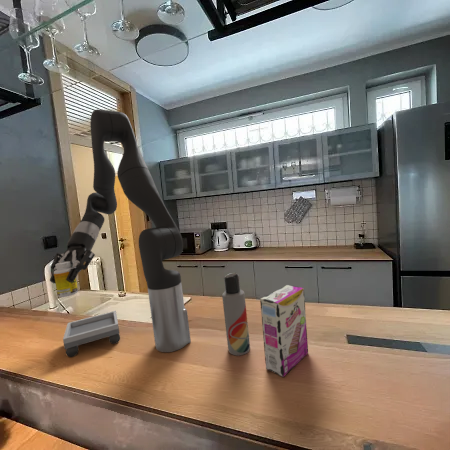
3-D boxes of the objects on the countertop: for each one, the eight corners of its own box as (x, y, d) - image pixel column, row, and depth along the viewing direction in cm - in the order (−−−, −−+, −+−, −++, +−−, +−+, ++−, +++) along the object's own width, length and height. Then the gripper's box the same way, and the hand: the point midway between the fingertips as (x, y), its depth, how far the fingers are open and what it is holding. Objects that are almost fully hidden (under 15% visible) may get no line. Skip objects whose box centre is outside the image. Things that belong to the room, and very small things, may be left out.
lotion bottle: (249, 356, 63) (240, 276, 62) (226, 355, 65) (217, 277, 63) (251, 343, 69) (243, 270, 67) (230, 343, 70) (222, 271, 68)
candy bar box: (284, 379, 54) (277, 303, 53) (265, 369, 58) (258, 298, 56) (310, 353, 62) (304, 286, 61) (291, 346, 66) (286, 283, 64)
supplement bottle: (75, 295, 79) (69, 262, 78) (54, 299, 78) (48, 266, 77) (80, 290, 84) (75, 259, 84) (62, 293, 83) (56, 262, 83)
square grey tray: (118, 327, 88) (115, 310, 87) (120, 342, 77) (118, 323, 76) (70, 340, 82) (67, 322, 81) (66, 359, 71) (62, 339, 70)
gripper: (59, 233, 89) (32, 277, 78) (94, 228, 85) (71, 274, 74) (74, 245, 94) (51, 288, 84) (108, 242, 91) (88, 286, 80)
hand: (61, 281), depth 79 cm, fingers closed on supplement bottle, 5 cm apart
